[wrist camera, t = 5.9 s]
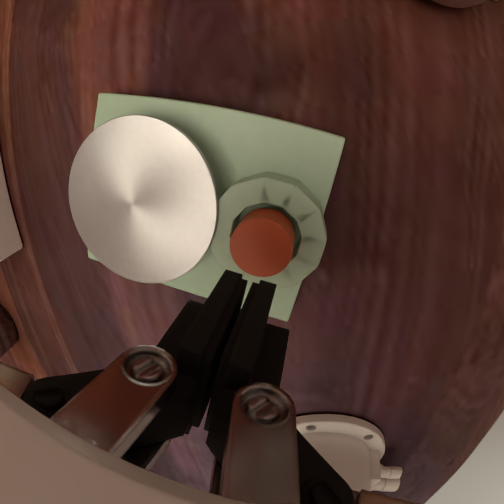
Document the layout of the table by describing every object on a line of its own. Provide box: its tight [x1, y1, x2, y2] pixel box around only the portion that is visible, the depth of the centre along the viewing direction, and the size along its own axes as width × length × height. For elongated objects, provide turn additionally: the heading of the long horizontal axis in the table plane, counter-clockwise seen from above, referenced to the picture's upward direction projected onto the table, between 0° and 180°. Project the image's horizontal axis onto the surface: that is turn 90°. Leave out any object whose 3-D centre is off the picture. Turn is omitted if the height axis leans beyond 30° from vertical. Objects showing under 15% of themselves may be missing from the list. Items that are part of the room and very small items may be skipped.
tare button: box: [230, 208, 295, 277], centre depth 15 cm, size 3×3×2 cm
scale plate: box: [69, 115, 219, 283], centre depth 16 cm, size 9×9×1 cm
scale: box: [88, 93, 345, 321], centre depth 17 cm, size 14×11×4 cm
